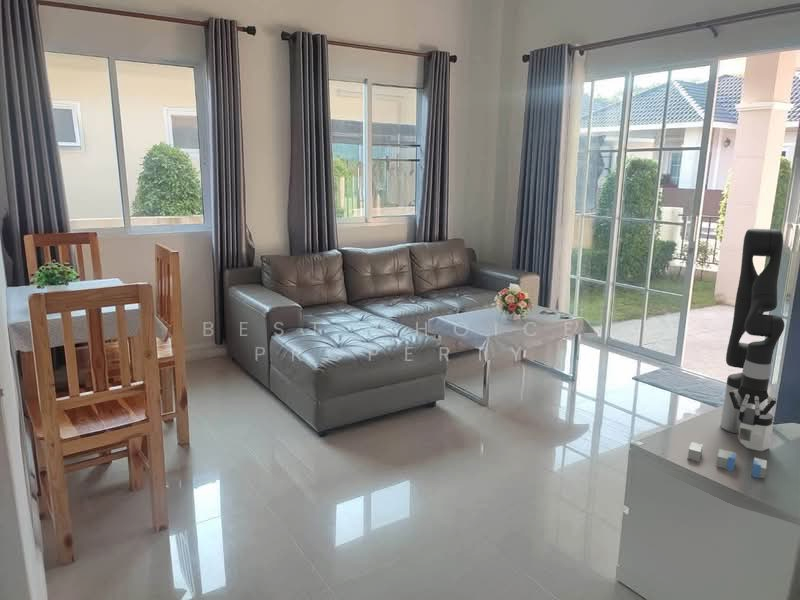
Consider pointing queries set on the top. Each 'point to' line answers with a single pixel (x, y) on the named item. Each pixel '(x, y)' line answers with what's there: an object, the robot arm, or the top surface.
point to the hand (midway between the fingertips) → (748, 422)
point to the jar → (760, 434)
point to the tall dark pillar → (747, 425)
